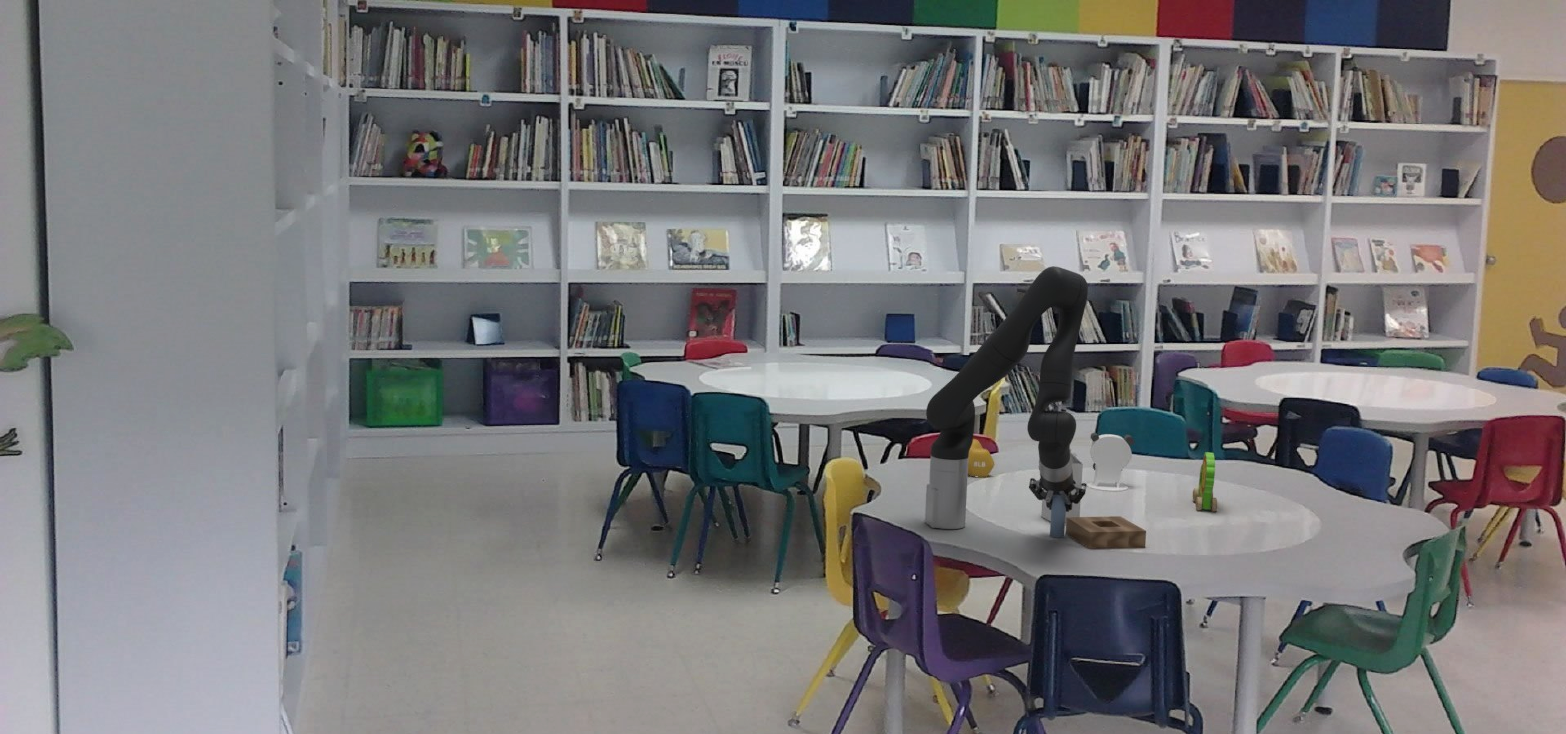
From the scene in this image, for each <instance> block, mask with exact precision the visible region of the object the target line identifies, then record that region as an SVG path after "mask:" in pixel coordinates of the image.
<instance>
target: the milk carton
mask: <svg viewBox="0 0 1566 734" xmlns="http://www.w3.org/2000/svg"><path fill="white" fill-rule="evenodd" d="M1070 456H1071V460H1072V469H1073V480H1074V481H1075V482H1076V484H1078V485H1081V484H1082V483H1083V469H1084V468H1083V467H1084V466H1083V463H1082V462H1081V461H1080V460H1079V459H1078V458H1077V456H1078V454H1077V453H1076V452H1075V451H1074V450H1072V447H1070ZM1042 489H1043V488H1042ZM1043 490H1044V489H1043ZM1044 492H1047V491H1045V490H1044ZM1075 492H1076V489H1074V490H1073V491H1071V493H1072V495H1074V494H1075ZM1081 500H1082V499H1081ZM1081 500H1080V502H1079V503H1078V504H1074V503H1072V509H1071V510H1069V512H1066V515H1065V524H1066V518H1067V517H1081V516H1080V515H1081ZM1041 501H1042V502H1041V515H1040V517H1042V518H1044V519H1045V520H1047V521H1049V522H1051V510H1049V508H1047V506H1046V501H1045V500H1044V499H1043V500H1041Z"/></svg>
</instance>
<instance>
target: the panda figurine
mask: <svg viewBox="0 0 1566 734" xmlns="http://www.w3.org/2000/svg"><path fill="white" fill-rule="evenodd" d="M1089 438H1090V439H1091V441H1092V442H1091V445H1090V449H1089V452H1090V453H1089V455H1090V458H1091V459H1092V462H1094V463H1093V464H1092V469H1093V470H1094V478H1093V481H1090V482H1087V483H1086V485H1087V486H1086V488H1089V489H1091V490H1095V491H1102V492H1109V493H1110V492H1112V493H1117V492H1125V491H1128V490H1129V486H1127V485H1125V484H1123V483H1121V477H1122V471H1123V469H1125V468H1126V467H1127V466H1128V465H1129V464H1130V462H1131V460H1132V457H1133V455H1132V449H1131V446H1134V444H1135V440H1134V437H1132V436H1131V435H1130V434H1125V435H1124V437H1122V436H1120V435H1118V434H1117V435H1116V434H1109V433H1105V434H1101V435H1099V434H1098V433H1097V432H1092V433H1091V434H1090V437H1089Z"/></svg>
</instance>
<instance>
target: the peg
mask: <svg viewBox="0 0 1566 734" xmlns="http://www.w3.org/2000/svg"><path fill="white" fill-rule="evenodd" d="M1065 515H1066V507H1065V500H1063V498H1062V496H1061V495H1052V507H1051V521H1050V524H1049V525H1050V527H1049V536H1050V537H1052V538H1059V539H1060V538H1065V532H1066V523H1065Z"/></svg>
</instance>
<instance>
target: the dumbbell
mask: <svg viewBox="0 0 1566 734" xmlns="http://www.w3.org/2000/svg"><path fill="white" fill-rule="evenodd" d="M994 466H995V461H994V458H993V457H992V455H991V453H990V451H989V450H988V449H987V448H983V446H982V444H981V443H980V441H979V440H978V439H976V438H973V442H972V446H971V448H970V450H969V459H968V476H970V477H971V476H978V477H977V478H987V477H988V476H989V474H990V473H991V472H992V470H993V469H994Z"/></svg>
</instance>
